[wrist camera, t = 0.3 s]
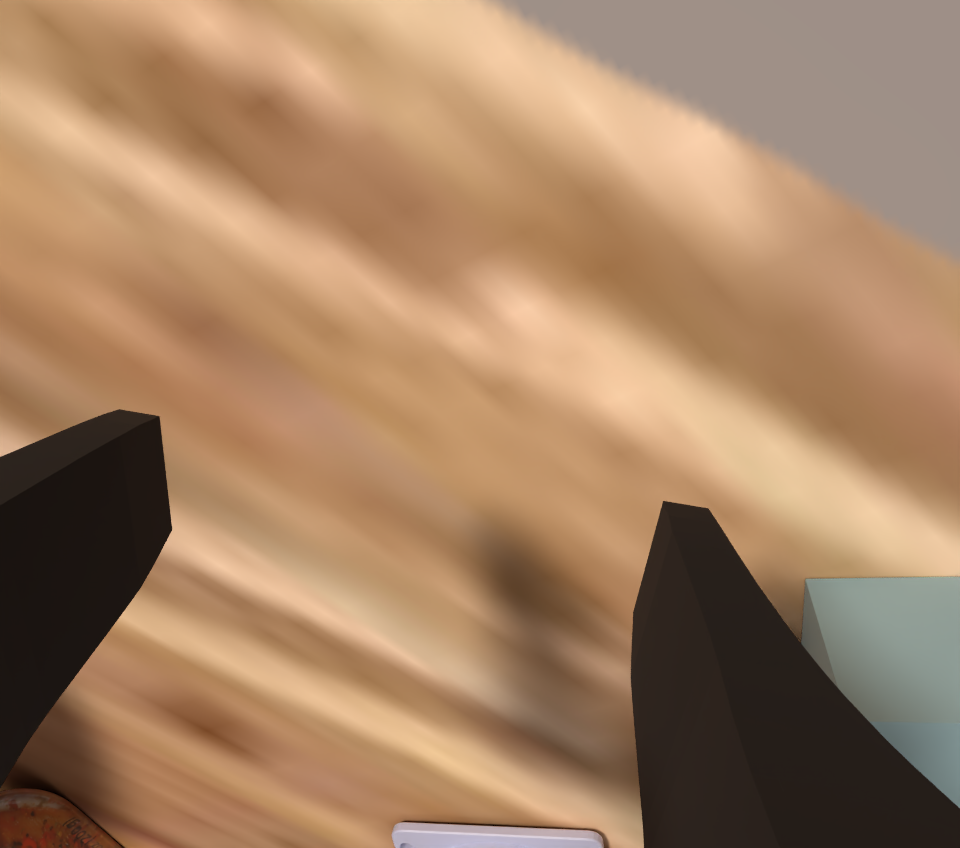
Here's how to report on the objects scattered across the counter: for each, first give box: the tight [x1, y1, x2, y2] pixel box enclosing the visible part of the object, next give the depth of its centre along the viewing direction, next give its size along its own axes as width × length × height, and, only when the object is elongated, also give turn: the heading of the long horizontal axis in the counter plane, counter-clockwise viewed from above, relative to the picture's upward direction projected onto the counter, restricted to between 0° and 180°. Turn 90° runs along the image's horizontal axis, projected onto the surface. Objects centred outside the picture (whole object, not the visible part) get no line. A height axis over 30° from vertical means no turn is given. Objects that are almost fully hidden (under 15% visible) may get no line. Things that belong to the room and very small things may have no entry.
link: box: [801, 577, 960, 808], centre depth 24 cm, size 13×8×5 cm, turn 8°
